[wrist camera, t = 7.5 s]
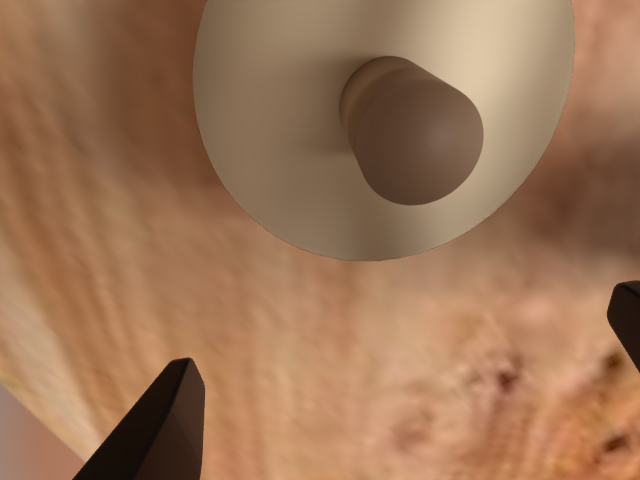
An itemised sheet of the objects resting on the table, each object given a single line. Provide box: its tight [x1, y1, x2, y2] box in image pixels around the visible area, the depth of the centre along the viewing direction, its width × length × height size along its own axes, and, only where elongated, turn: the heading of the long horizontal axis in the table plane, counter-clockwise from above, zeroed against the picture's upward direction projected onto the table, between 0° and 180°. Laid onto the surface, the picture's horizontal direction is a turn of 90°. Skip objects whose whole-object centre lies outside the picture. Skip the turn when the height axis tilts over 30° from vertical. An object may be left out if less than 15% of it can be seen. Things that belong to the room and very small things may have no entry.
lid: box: [193, 0, 575, 261], centre depth 12 cm, size 12×12×5 cm
